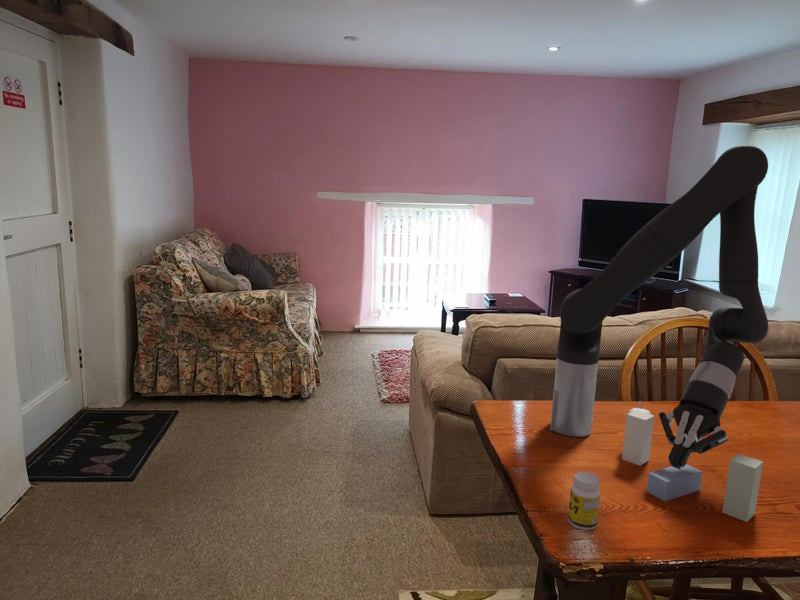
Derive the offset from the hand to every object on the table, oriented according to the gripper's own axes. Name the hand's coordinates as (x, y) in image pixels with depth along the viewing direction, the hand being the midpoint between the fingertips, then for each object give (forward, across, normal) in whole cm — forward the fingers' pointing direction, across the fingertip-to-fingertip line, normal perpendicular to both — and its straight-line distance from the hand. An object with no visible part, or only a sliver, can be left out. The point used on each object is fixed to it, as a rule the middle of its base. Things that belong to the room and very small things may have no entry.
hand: (674, 465), depth 110 cm
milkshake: (-6, -14, +14) cm, 20 cm away
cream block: (-2, -11, +10) cm, 15 cm away
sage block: (+2, +11, +5) cm, 12 cm away
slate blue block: (-2, +1, +7) cm, 7 cm away
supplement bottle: (+20, -5, -12) cm, 24 cm away
